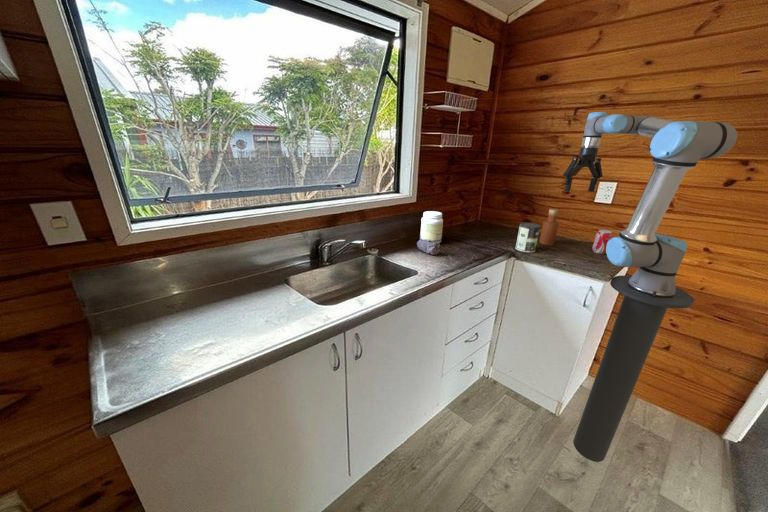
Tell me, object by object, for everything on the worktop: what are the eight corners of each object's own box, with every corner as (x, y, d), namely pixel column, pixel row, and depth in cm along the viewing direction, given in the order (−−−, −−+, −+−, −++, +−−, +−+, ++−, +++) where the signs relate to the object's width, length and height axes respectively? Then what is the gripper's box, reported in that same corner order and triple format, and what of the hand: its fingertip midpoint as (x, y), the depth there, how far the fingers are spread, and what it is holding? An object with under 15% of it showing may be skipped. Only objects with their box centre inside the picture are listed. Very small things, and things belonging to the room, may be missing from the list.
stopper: (553, 222, 171) (556, 210, 169) (545, 221, 174) (548, 209, 172) (557, 221, 174) (560, 209, 171) (548, 220, 177) (551, 208, 175)
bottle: (550, 246, 174) (557, 217, 168) (536, 242, 179) (542, 214, 173) (556, 243, 178) (562, 215, 172) (542, 240, 184) (548, 212, 178)
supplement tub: (445, 242, 175) (448, 213, 169) (431, 246, 167) (433, 216, 161) (429, 237, 183) (431, 209, 177) (415, 240, 176) (417, 212, 170)
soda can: (588, 250, 169) (594, 229, 164) (601, 250, 169) (607, 229, 164) (596, 254, 162) (602, 233, 158) (609, 255, 162) (616, 233, 158)
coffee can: (536, 248, 168) (541, 224, 163) (534, 254, 160) (539, 228, 155) (516, 245, 173) (521, 221, 168) (513, 250, 165) (518, 225, 160)
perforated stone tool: (413, 249, 163) (414, 236, 160) (420, 247, 165) (421, 235, 163) (433, 257, 151) (434, 244, 149) (440, 255, 154) (442, 242, 152)
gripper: (605, 147, 153) (594, 190, 160) (561, 146, 149) (551, 190, 156) (618, 148, 146) (606, 192, 153) (572, 146, 142) (561, 192, 149)
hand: (578, 191), depth 155 cm, fingers open, 13 cm apart
